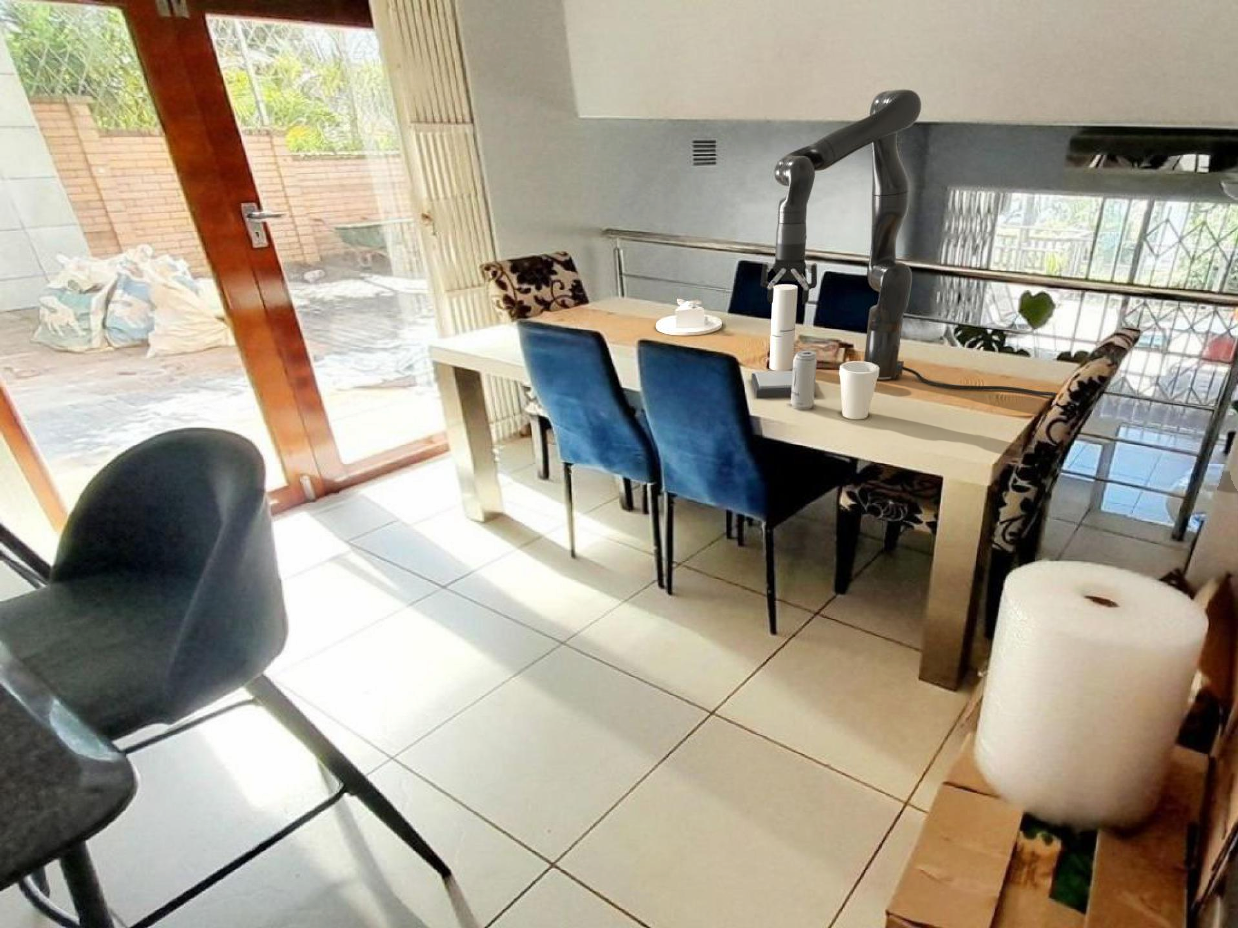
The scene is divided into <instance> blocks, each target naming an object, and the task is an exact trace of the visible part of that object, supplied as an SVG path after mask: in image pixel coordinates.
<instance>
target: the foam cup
mask: <svg viewBox="0 0 1238 928" xmlns="http://www.w3.org/2000/svg"><path fill="white" fill-rule="evenodd" d="M878 376H879V367H878V365H876V364H873V363H870V362H864V360H862V361H861V360H854V361H853V360H852V361H846V362H843V363H841V364H840V365H839V381H840V383H839V384H840V403H841V414H842V416H843V417H845V418H847V419H850V420H863V419H865V418H867V417H868V415H869V411H870V408H871V404H872V400H873V396H874V393H875V389H876V385H877V381H878V380H877V378H878Z"/></svg>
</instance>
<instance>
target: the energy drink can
mask: <svg viewBox="0 0 1238 928" xmlns="http://www.w3.org/2000/svg"><path fill="white" fill-rule="evenodd" d="M817 363H818V359H817V356H816V353H815V351H813V350H808V349H805V350H804V349H803V350H801V349H800V350H797V351H796V352H795V355H794V358H793V369H792V371H793V373H792V390H791V397H790V404H791V405H792V408H793V409H795V410H801V411H804V410H810V409H811V408H812V406H814V403H815V394H814V392H816V391H815V390H816V375H817V365H818V364H817Z"/></svg>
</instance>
